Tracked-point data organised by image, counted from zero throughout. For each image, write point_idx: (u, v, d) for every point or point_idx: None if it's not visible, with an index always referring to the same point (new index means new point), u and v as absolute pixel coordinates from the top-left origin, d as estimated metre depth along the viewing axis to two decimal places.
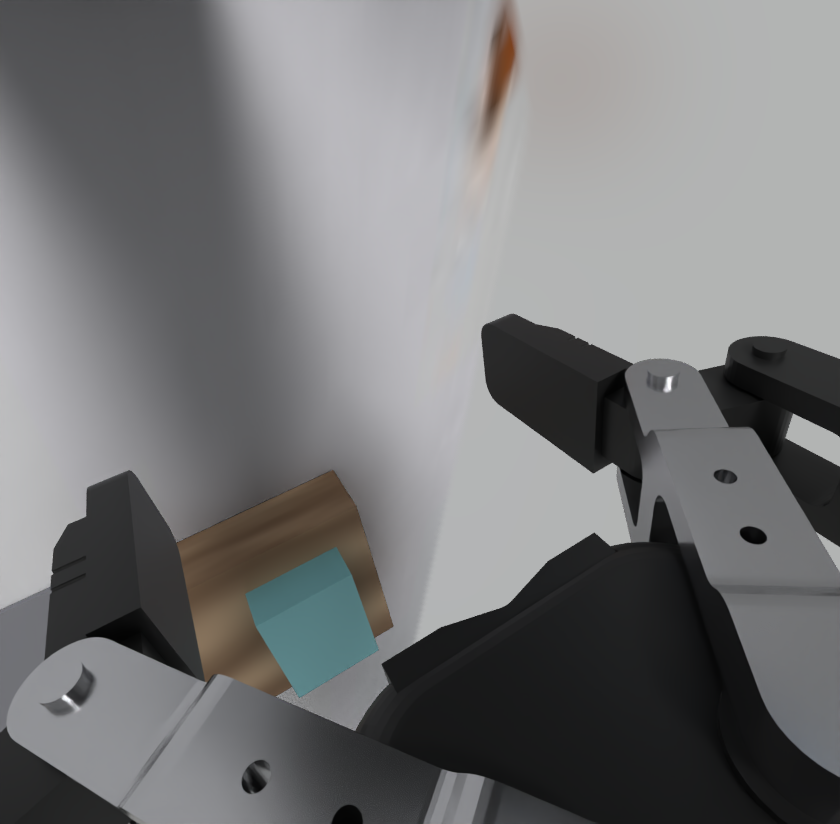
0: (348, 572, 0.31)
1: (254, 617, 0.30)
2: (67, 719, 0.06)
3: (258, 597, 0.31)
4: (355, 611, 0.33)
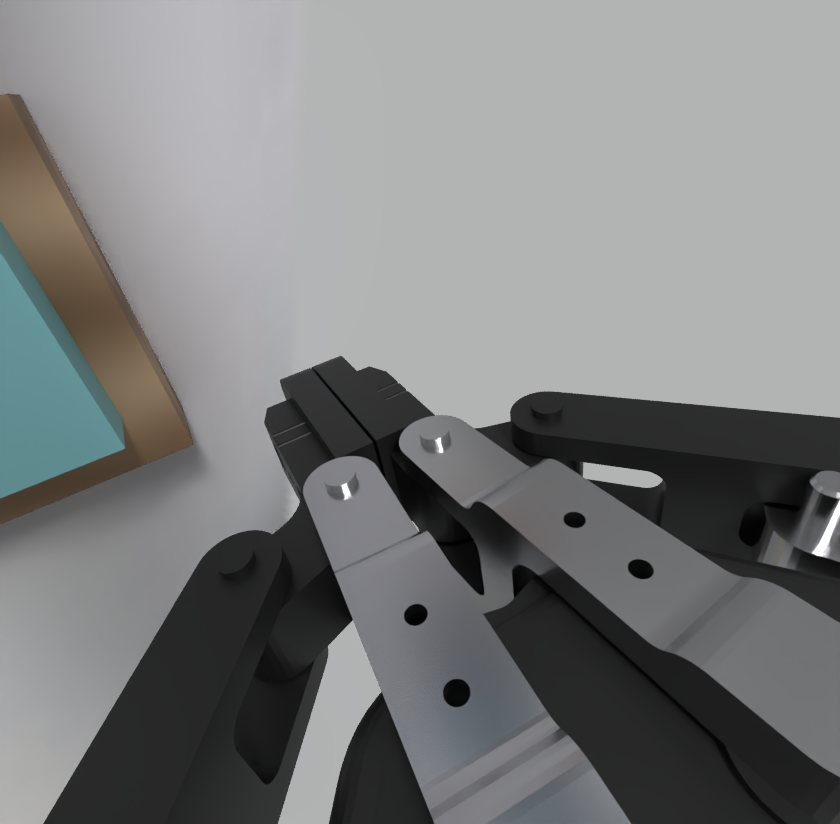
0: None
1: None
2: (356, 497, 0.08)
3: None
4: (24, 326, 0.17)
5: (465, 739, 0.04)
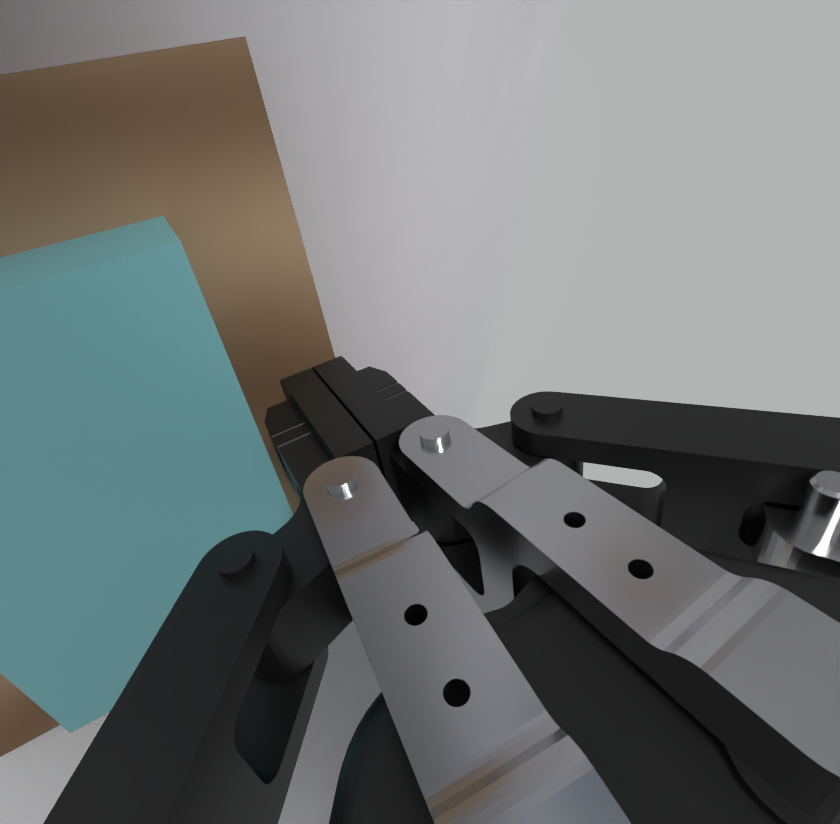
0: (172, 240, 0.08)
1: None
2: (356, 497, 0.08)
3: None
4: (226, 434, 0.10)
5: (465, 739, 0.04)
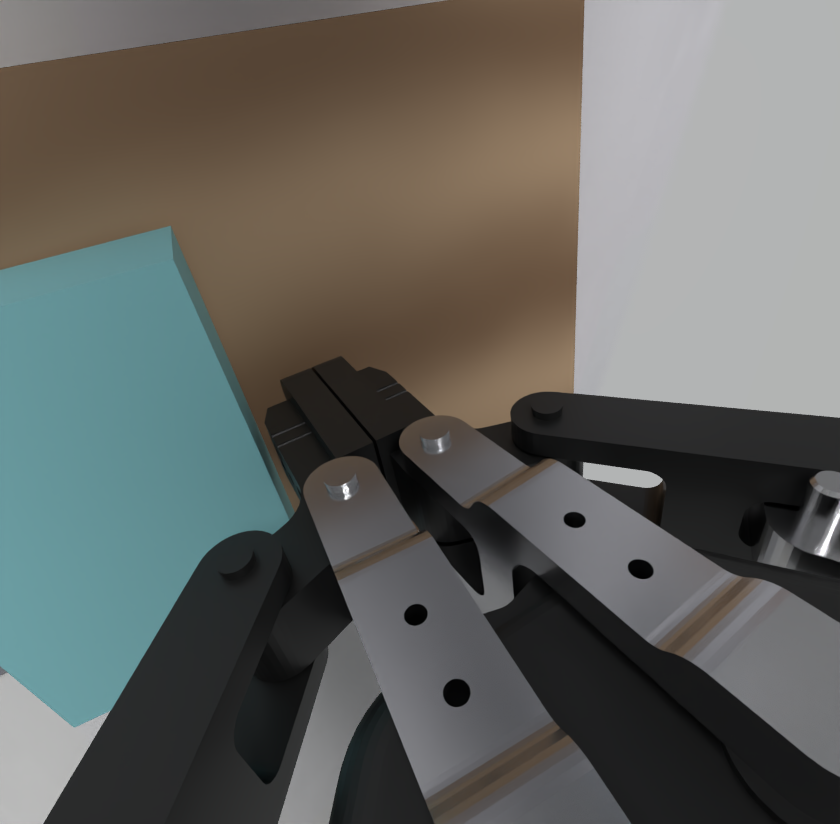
0: (165, 257, 0.08)
1: None
2: (356, 497, 0.08)
3: None
4: (224, 451, 0.10)
5: (465, 738, 0.04)
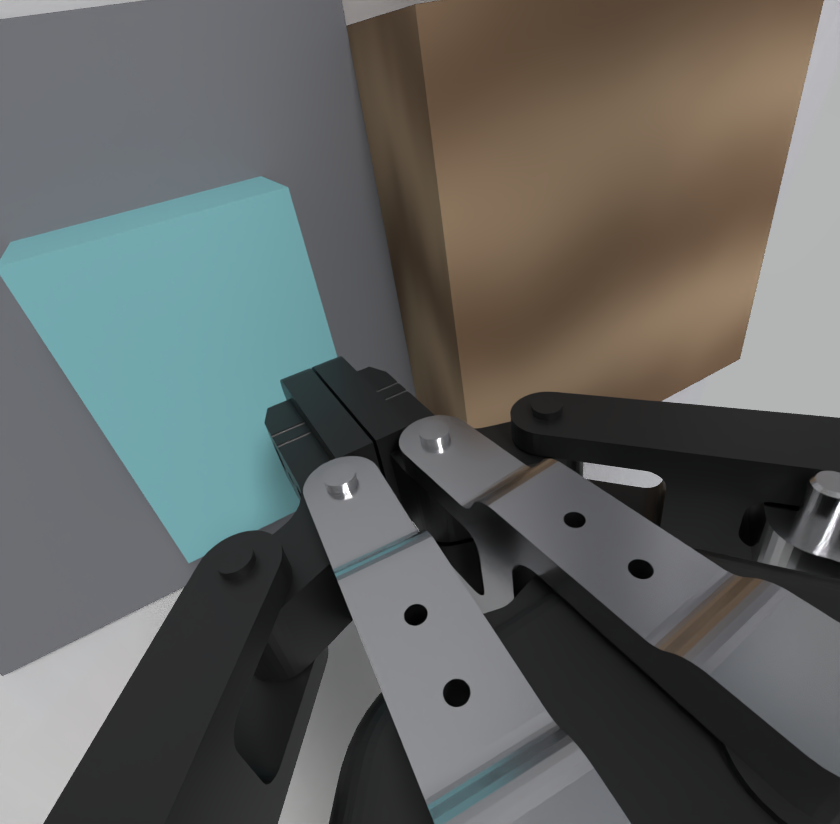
0: (14, 242, 0.12)
1: (263, 178, 0.13)
2: (356, 497, 0.08)
3: (254, 190, 0.12)
4: None
5: (465, 738, 0.04)
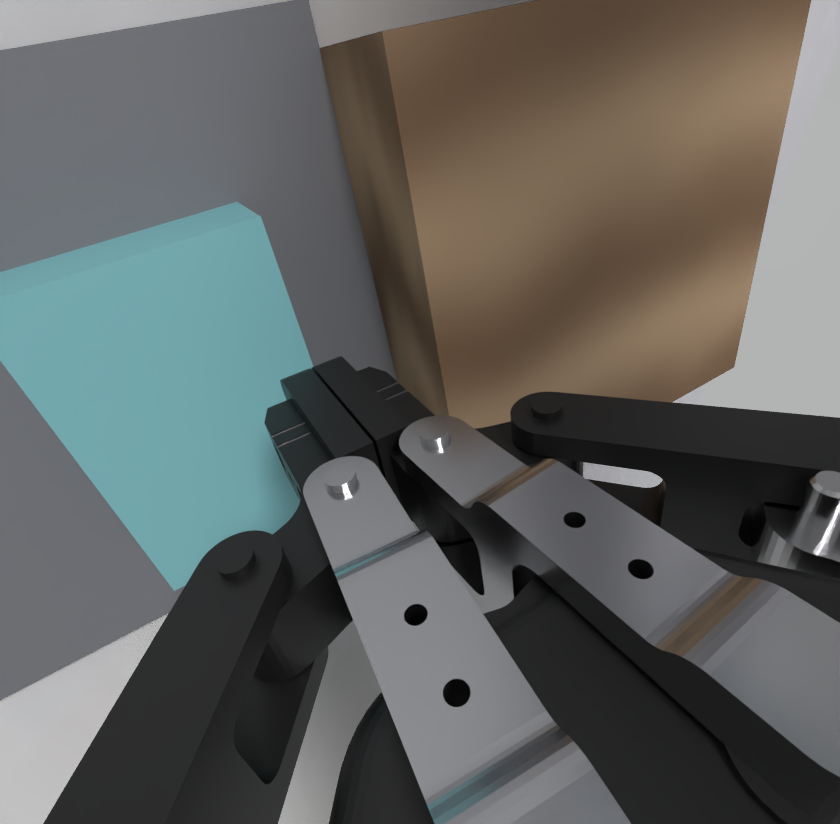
0: None
1: (238, 205, 0.13)
2: (356, 497, 0.08)
3: (227, 219, 0.12)
4: None
5: (465, 739, 0.04)
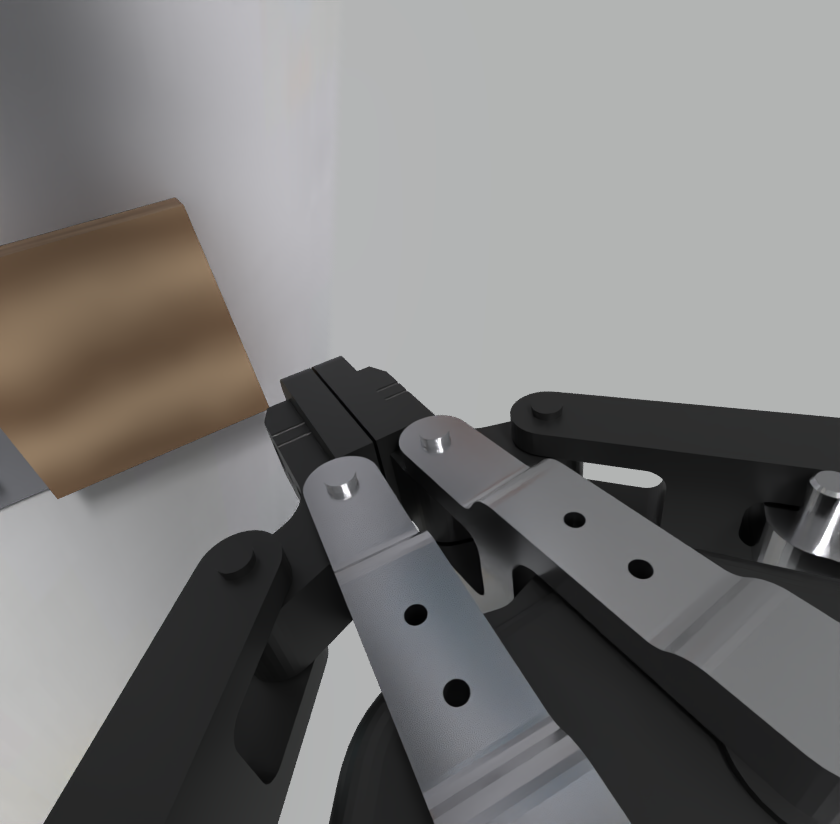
0: None
1: None
2: (356, 497, 0.08)
3: None
4: None
5: (465, 739, 0.04)
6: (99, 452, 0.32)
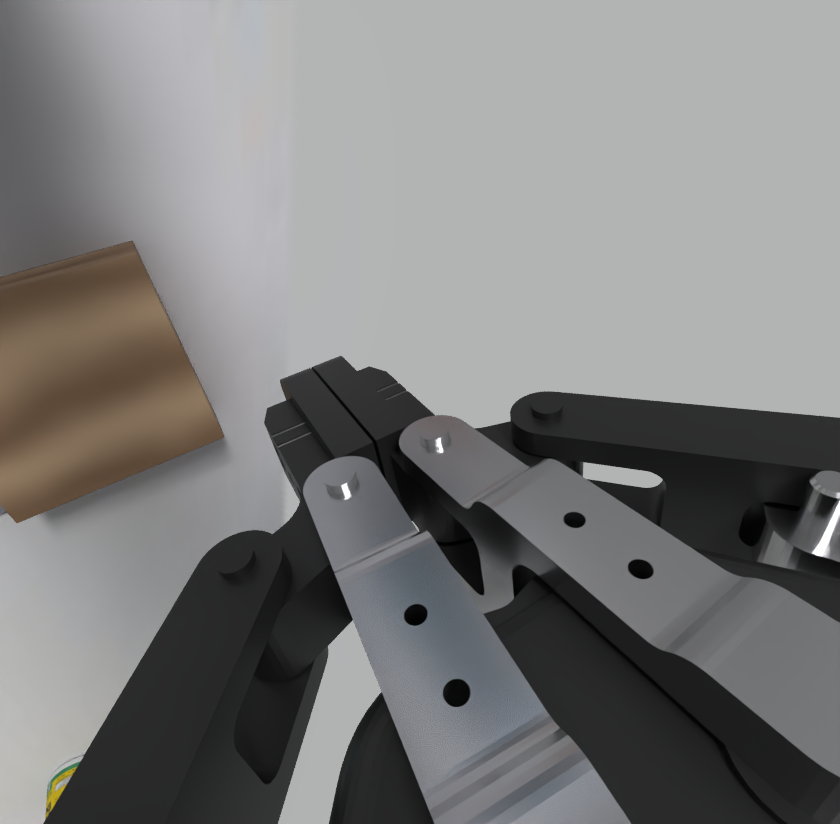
0: None
1: None
2: (356, 497, 0.08)
3: None
4: None
5: (465, 738, 0.04)
6: (57, 480, 0.34)
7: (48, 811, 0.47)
